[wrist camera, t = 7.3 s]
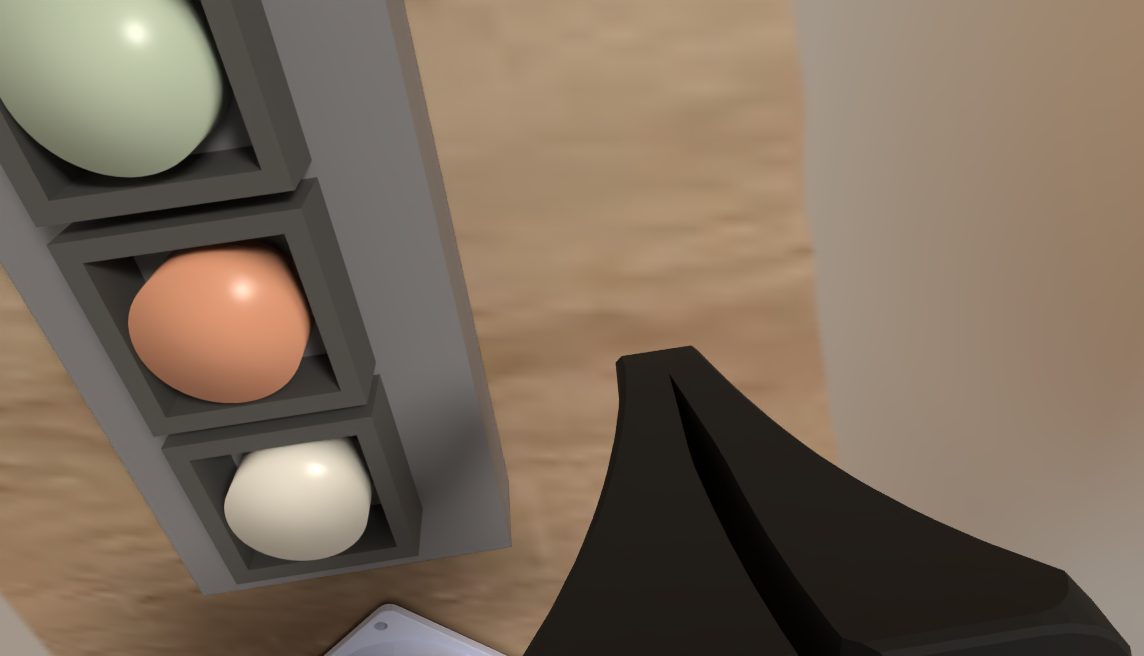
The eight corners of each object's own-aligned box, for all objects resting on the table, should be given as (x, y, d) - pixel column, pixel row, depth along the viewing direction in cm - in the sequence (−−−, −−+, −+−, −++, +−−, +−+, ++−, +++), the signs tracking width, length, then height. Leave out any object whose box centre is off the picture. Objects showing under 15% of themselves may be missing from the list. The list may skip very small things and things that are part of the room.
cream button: (388, 506, 22) (382, 549, 20) (267, 525, 21) (252, 569, 20) (355, 412, 20) (346, 453, 18) (221, 433, 19) (202, 475, 18)
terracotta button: (334, 352, 18) (322, 390, 17) (191, 373, 18) (169, 413, 17) (288, 222, 17) (271, 254, 15) (129, 245, 16) (97, 280, 15)
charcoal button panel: (508, 481, 26) (513, 593, 22) (230, 525, 26) (184, 646, 22) (346, -260, 15) (296, -307, 11) (-154, -197, 14) (-397, -221, 10)
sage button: (258, 136, 15) (237, 162, 14) (86, 161, 15) (49, 189, 14) (191, -53, 13) (159, -45, 12) (-6, -27, 13) (-60, -15, 12)
